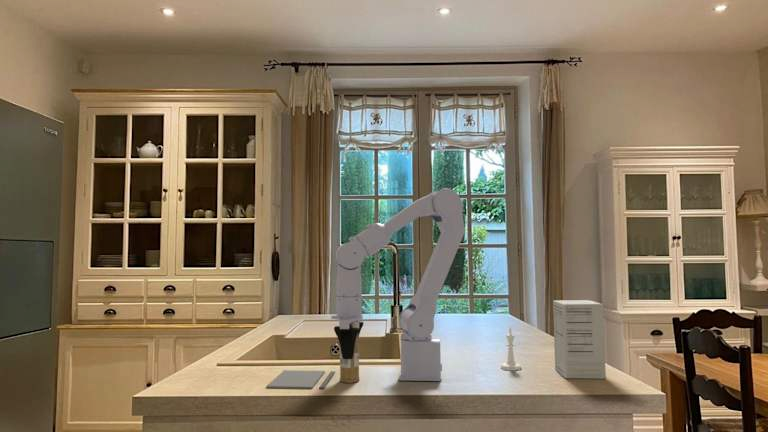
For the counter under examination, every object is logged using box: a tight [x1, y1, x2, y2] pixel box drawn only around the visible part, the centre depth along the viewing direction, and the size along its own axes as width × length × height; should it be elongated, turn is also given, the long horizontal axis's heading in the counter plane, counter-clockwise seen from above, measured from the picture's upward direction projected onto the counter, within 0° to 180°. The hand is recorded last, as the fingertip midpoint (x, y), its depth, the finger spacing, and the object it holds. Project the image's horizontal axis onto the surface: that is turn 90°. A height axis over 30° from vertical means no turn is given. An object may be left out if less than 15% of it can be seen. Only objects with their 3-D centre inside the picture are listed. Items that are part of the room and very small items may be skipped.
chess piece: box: [500, 326, 522, 371], centre depth 131 cm, size 5×5×10 cm
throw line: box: [318, 370, 336, 390], centre depth 121 cm, size 1×14×1 cm, turn 175°
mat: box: [265, 369, 326, 390], centre depth 121 cm, size 10×14×1 cm
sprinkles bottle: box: [338, 320, 360, 384], centre depth 121 cm, size 5×5×13 cm
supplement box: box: [552, 299, 607, 380], centre depth 125 cm, size 10×9×17 cm
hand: (349, 356), depth 120 cm, fingers closed on sprinkles bottle, 4 cm apart
